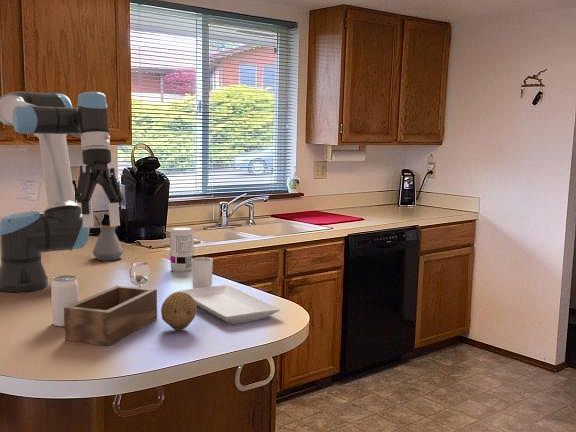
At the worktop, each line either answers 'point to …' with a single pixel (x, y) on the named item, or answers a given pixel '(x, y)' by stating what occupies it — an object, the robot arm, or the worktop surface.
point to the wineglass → (139, 273)
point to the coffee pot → (107, 243)
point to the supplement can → (181, 249)
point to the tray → (231, 304)
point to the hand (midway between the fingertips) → (102, 226)
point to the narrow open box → (110, 315)
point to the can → (63, 297)
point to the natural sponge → (178, 310)
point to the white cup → (202, 272)
